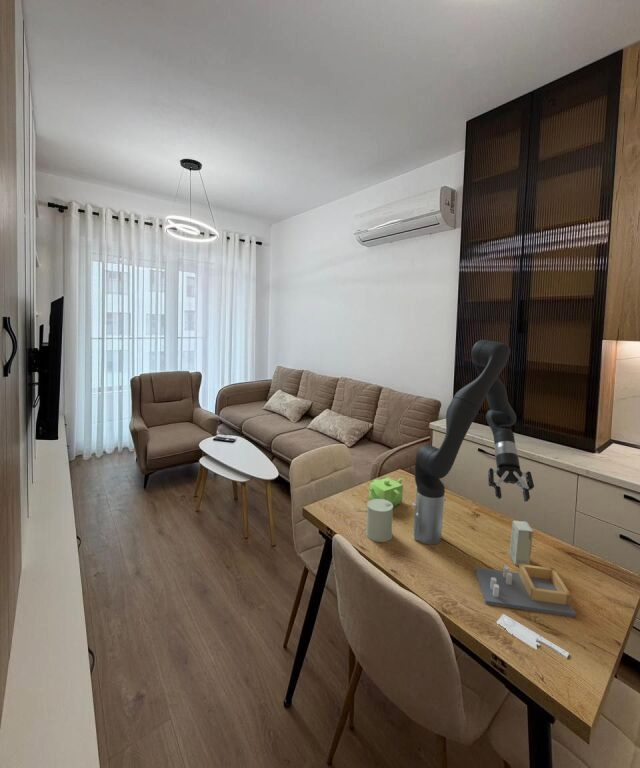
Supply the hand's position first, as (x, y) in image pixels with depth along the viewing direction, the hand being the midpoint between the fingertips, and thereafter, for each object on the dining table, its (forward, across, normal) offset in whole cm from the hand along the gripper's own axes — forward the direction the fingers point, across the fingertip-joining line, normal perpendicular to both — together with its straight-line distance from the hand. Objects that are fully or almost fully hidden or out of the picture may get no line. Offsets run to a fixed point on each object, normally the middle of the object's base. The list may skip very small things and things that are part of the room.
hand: (513, 499), depth 127 cm
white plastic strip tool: (+42, -7, -19) cm, 46 cm away
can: (+15, -45, +7) cm, 48 cm away
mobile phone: (-5, -25, +27) cm, 37 cm away
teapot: (-1, -43, +23) cm, 49 cm away
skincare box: (+19, 0, +3) cm, 19 cm away
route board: (+29, -4, -8) cm, 31 cm away
